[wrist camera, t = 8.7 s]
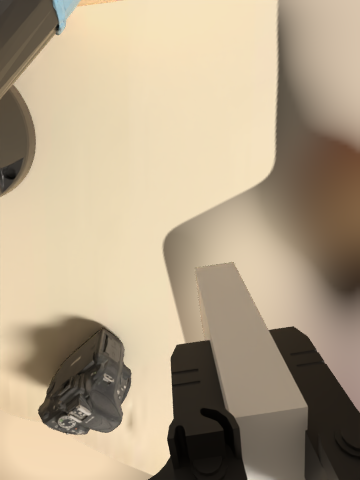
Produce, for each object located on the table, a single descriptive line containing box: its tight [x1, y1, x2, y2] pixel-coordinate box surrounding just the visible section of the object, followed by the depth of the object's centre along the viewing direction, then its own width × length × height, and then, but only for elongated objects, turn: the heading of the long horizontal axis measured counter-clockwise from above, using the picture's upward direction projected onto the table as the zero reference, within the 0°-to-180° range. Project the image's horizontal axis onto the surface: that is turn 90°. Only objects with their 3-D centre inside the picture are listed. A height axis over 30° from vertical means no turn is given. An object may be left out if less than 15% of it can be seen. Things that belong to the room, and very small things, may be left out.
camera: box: [38, 328, 131, 435], centre depth 41 cm, size 13×10×10 cm
